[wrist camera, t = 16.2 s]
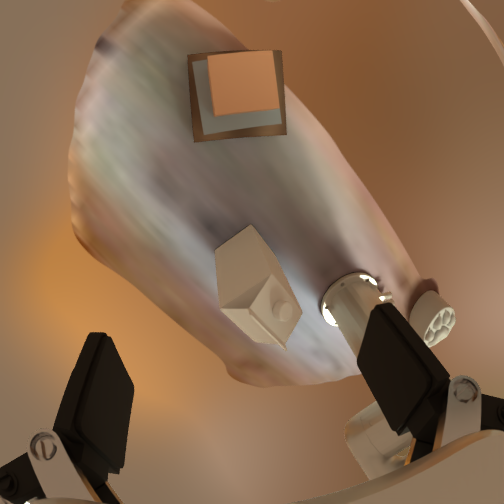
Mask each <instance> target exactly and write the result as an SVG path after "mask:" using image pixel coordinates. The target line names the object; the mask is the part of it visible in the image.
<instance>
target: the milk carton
mask: <svg viewBox="0 0 504 504" xmlns="http://www.w3.org/2000/svg"><path fill="white" fill-rule="evenodd" d="M215 262H216V275H217V286H218V297H219V309H220V310H221V311H222V312H223V313H224V314H225V315H226V316H227V317H228V318H230V319H231V320H232V321H233V322H234V323H235V324H236V325H237V326H238V327H239V328H240V329H241V330H242V331H243V332H245V333H246V334H247V335H248V336H249V337H250V338H251V339H252V340H253V341H255V342H260V343H270V344H279V345H280V346H281V347H282V348H283V349H284V350H285V351H287V349H286V346H285V343H286V342H287V340H288V338H289V336H290V335H291V333H292V331H293V329H294V328H295V326H296V324H297V322H298V320H299V319H300V317H301V315H302V310H301V307H300V305H299V303H298V301H297V299H296V297H295V295H294V293H293V291H292V289H291V287H290V285H289V283H288V281H287V278H286V276H285V274H284V272H283V270H282V268H281V266H280V264H279V262H278V260H277V258H276V256H275V254H274V253H273V252H272V250H271V249H270V248H269V246H268V245H267V244H266V243H265V241H264V240H263V239H262V237H261V236H260V235H259V233H258V232H257V231H256V229H255V228H254V227H253V226H252V225H249V226H248V227H246V228H245V229H243V230H242V231H241V232H239V233H238V234H236V235H235V236H234V237H232V238H231V239H229V240H228V241H227V242H225V243H224V244H223V245H221V246H220V247H218V248H217V249H216V250H215Z"/></svg>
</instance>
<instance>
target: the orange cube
mask: <svg viewBox="0 0 504 504" xmlns="http://www.w3.org/2000/svg"><path fill="white" fill-rule="evenodd" d="M207 68H208V76H209V84H210V92H211V99H212V107H213V114H214V117H217V116H224V115H232V114H240V113H248V112H258V111H268V110H273V109H278V108H280V107H279V98H278V90H277V81H276V74H275V66H274V58H273V51H272V50H271V51H251V52H238V53H227V54H219V55H211V56H208V62H207Z"/></svg>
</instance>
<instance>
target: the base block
mask: <svg viewBox="0 0 504 504" xmlns="http://www.w3.org/2000/svg"><path fill="white" fill-rule="evenodd" d="M251 51H271V50H243V51H223V52H210V53H200V54H191V55H187V57H188V74H189V89H190V102H191V114H192V125H193V136H194V142H202V141H210V140H220V139H230V138H242V137H256V136H275V135H287V133H286V112H285V94H284V78H283V64H282V51H279V50H277V51H276V50H272V51H273V58H274V66H275V74H276V81H277V90H278V98H279V106H280V114H281V122H282V124H274V125H266V126H258V127H250V128H243V129H237V130H230V131H224V132H218V133H213V134H207V135H204V133H203V127H202V121H201V115H200V109H199V103H198V96H197V90H196V84H195V77H194V71H193V64H192V62H195V61H201V60H206V59H208V56H211V55H219V54H227V53H238V52H251Z"/></svg>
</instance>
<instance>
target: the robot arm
mask: <svg viewBox="0 0 504 504" xmlns="http://www.w3.org/2000/svg"><path fill="white" fill-rule="evenodd" d="M389 298H392V293H391V292H386V293H383V294H382V293H380V292H379V290H378V285H377V283H376V281H375V280H374V279H373V278H372V277H371V276H370V275H368V274H366V273H358V272H357V273H351V274H348V275H346V276H344V277H342V278H340V279H339V280H337V281H336V282H335V283H334V284H333V285H331V286H330V288H329V289H328V290H327V292H326V293H325V295H324V297H323V300H322V303H321V312H322V315H323V317H324V319H325V320H326V321H327V322H328V323H329V324H331V325H333V326H338V327H339V329H340V330H341V332H342V334H343V336H344V337H345V339H346V341H347V342H348V344H349V346H350V348H351V349H352V351H353V353H354V355H355V356H356V358H357V365H358V367H359V369H360V371H361V373H362V375H363V377H364V379H365V380H366V382H367V384H368V386H369V388H370V390H371V392H372V394H373V395H374V397H375V399H376V401H375V402H374V403H372V404H371V405H369V406H368V407H366V408H365V409H363V410H362V411H361V412H359V413H358V414H357V415H355V416H353V417H352V418H351V419H350V420H349V421H348V422H347V424H346V426H345V429H344V435H345V440H346V442H347V445H348V447H349V449H350V450H351V452H352V454H353V455H354V457H355V459H356V460H357V462H358V463H359V464H360V466H361V468H362V469H363V471H364V472H365V474H366V475H367V477H368V478H369V480H370V481H367V482H365V483H362V484H359V485H356V486H353V487H350V488H347V489H344V490H341V491H338V492H334V493H331V494H327V495H323V496H320V497H316V498H312V499H307V500H303V501H298V502H294V503H289V504H504V399H501V398H497V397H493V396H489V395H485V394H481V389H480V387H479V385H478V383H477V382H476V381H475V380H474V379H472V378H471V377H468V376H464V375H460V376H457V377H455V378H453V379H451V378H450V375H449V373H448V372H447V371H446V369H445V368H444V367H443V366H442V364H441V363H440V361H439V360H438V359H437V358H436V356H435V355H434V354H433V352H432V351H431V350H430V349H429V347H428V346H427V345H426V344H425V342H424V341H423V340H422V339H421V337H420V336H419V335H418V334H417V333H416V331H415V330H414V329H413V328H412V326H411V325H410V324H409V323H408V322H407V320H406V319H405V318H404V317H403V316H402V315H401V313H400V312H399V311H398V310H397V309H396V308H395V303H394V300H393V299H390V300H386V301H384V302H383V300H384V299H389ZM133 396H134V385H133V382H132V380H131V378H130V377H129V375H128V373H127V371H126V368H125V367H124V364H123V362H122V360H121V358H120V356H119V354H118V351H117V349H116V347H115V345H114V343H113V340H112V338H111V337H109V336H107V334H106V333H103V332H100V333H99V332H91V333H89V335H88V336H87V339H86V341H85V343H84V346H83V348H82V350H81V353H80V355H79V358H78V360H77V363H76V366H75V368H74V369H73V371H72V373H71V376H70V379H69V381H68V384H67V387H66V390H65V392H64V395H63V398H62V401H61V404H60V407H59V410H58V413H57V416H56V420H55V423H54V426H53V430H50V429H47V428H41V429H38V430H36V431H35V432H33V433H32V434H31V436H30V437H29V439H28V441H27V452H26V453H25V454H23V455H21V456H20V457H18V458H16V459H14V460H13V461H11V462H9V463H8V464H6V465H4V466H2V467H1V468H0V504H124V503H123V501H122V500H121V499H120V497H119V496H118V495H117V493H116V492H115V491H114V489H113V488H112V487H111V485H110V484H109V482H108V481H107V479H108V473H113V474H119V471H120V468H123V466H124V461H125V451H126V443H127V435H128V427H129V421H130V414H131V408H132V402H133ZM409 446H410V448H409V452H408V454H407V455H406V456H404V457H400V456H398V455H396V454H398V453H399V452H401V451H402V450H404V449H406V448H407V447H409Z"/></svg>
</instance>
